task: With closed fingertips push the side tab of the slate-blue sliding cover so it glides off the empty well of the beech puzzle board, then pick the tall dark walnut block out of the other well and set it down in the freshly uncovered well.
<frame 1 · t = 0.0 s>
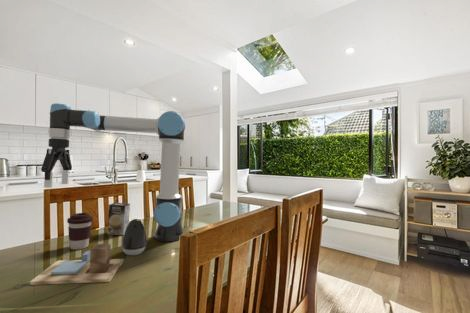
hand: (57, 185, 110), 28 cm above the table, fingers open, 13 cm apart
board: (81, 273, 88), on the table
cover: (72, 261, 89), point 3 cm above the table, slide at 0.0 cm
dark grey rounded dome: (134, 254, 107), on the table
block: (99, 271, 89), resting on board
coffee box: (118, 233, 133), on the table
coffee cup: (79, 247, 112), on the table
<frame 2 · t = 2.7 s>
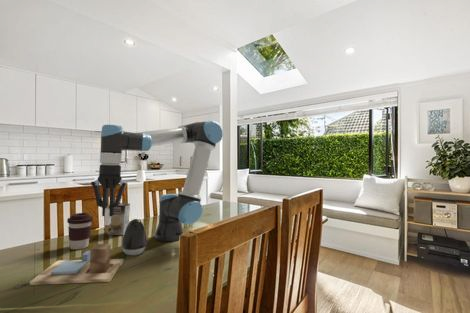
hand: (107, 224, 95), 16 cm above the table, fingers closed
nothing on the table moved.
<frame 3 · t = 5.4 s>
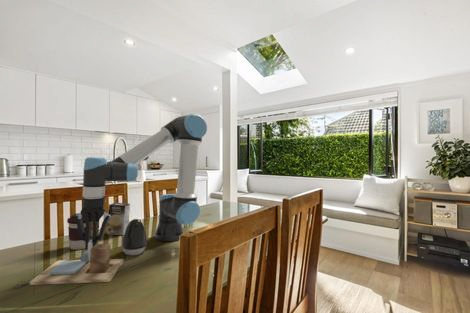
hand: (90, 257, 94), 3 cm above the table, fingers closed
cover: (71, 261, 89), point 3 cm above the table, slide at 0.4 cm, touching gripper
everything else where it was.
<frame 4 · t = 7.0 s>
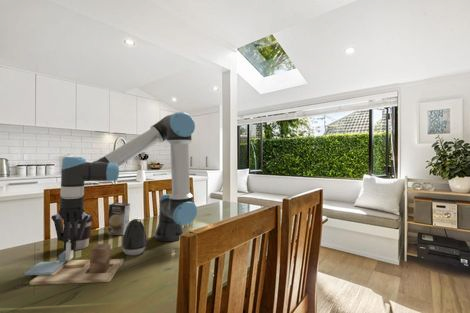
hand: (69, 258, 93), 3 cm above the table, fingers closed
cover: (48, 262, 88), point 3 cm above the table, slide at 7.9 cm, touching gripper
everything else where it was.
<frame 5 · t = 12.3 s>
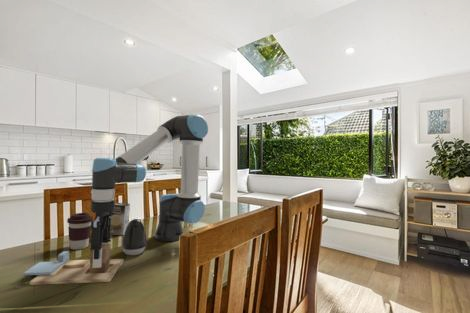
hand: (100, 263, 89), 3 cm above the table, fingers closed on block, 5 cm apart
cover: (47, 262, 88), point 3 cm above the table, slide at 8.2 cm
block: (99, 271, 89), resting on board, touching gripper
everything else where it was.
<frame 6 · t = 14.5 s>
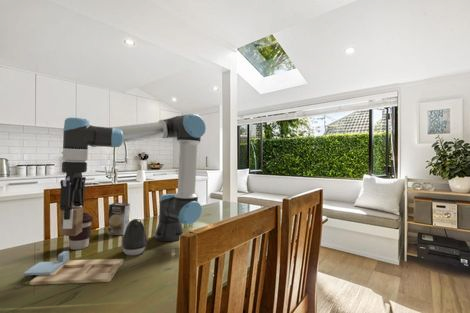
hand: (71, 225, 87), 17 cm above the table, fingers closed on block, 5 cm apart
block: (71, 233, 87), point 14 cm above the table, touching gripper
everything else where it was.
when the fingers open (5 cm above the table, at t = 16.9 s): block drops 1 cm, resting on board.
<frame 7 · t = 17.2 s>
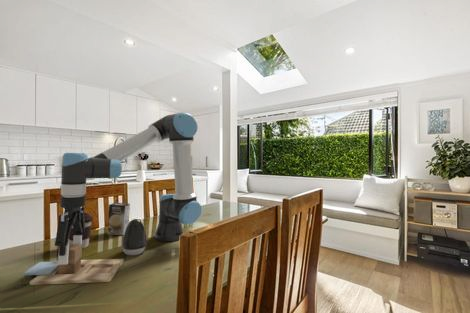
hand: (70, 258, 87), 6 cm above the table, fingers open, 9 cm apart
block: (69, 272, 87), resting on board
everything else where it was.
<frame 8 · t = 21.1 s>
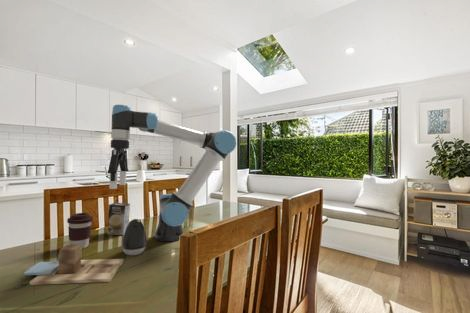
hand: (118, 186, 110), 29 cm above the table, fingers open, 13 cm apart
nothing on the table moved.
at the end: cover slide at 8.2 cm; block 0.0 cm from the target spot on the board, point 0.5 cm above the board's base; block tilted 0° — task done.
